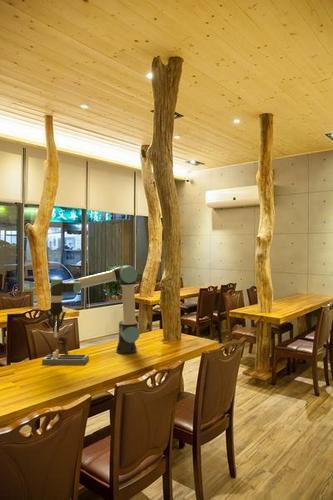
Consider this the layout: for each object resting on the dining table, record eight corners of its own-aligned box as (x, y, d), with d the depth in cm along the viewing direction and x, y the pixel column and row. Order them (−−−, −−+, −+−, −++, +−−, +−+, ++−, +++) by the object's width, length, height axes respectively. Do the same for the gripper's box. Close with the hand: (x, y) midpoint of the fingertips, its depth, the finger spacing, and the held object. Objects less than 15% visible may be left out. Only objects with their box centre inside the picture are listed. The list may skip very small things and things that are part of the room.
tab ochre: (60, 357, 244) (60, 349, 245) (59, 358, 241) (59, 350, 241) (54, 357, 244) (54, 349, 245) (53, 358, 241) (53, 350, 241)
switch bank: (88, 359, 246) (88, 354, 246) (84, 364, 234) (84, 359, 234) (48, 358, 246) (48, 354, 246) (42, 364, 234) (42, 359, 234)
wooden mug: (63, 357, 250) (63, 331, 251) (52, 353, 259) (52, 328, 259) (73, 354, 257) (74, 329, 257) (63, 351, 266) (63, 327, 266)
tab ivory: (58, 359, 239) (58, 351, 239) (56, 360, 236) (56, 353, 236) (52, 359, 239) (52, 351, 239) (50, 360, 236) (50, 353, 236)
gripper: (67, 301, 244) (67, 335, 243) (48, 300, 243) (47, 335, 243) (64, 302, 236) (64, 338, 236) (45, 302, 236) (44, 338, 235)
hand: (55, 336), depth 239 cm, fingers closed
